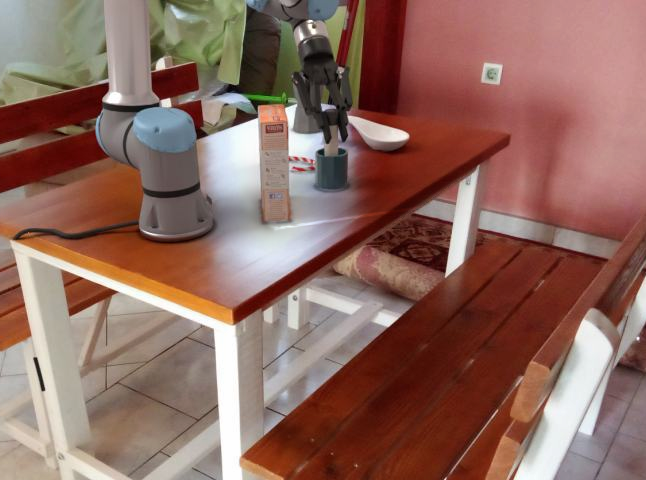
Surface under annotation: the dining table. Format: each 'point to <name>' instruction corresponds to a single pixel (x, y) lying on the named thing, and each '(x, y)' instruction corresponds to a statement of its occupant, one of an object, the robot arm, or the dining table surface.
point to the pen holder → (331, 169)
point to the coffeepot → (301, 119)
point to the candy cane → (293, 158)
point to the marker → (332, 132)
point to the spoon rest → (378, 134)
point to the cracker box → (274, 162)
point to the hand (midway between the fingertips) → (337, 139)
